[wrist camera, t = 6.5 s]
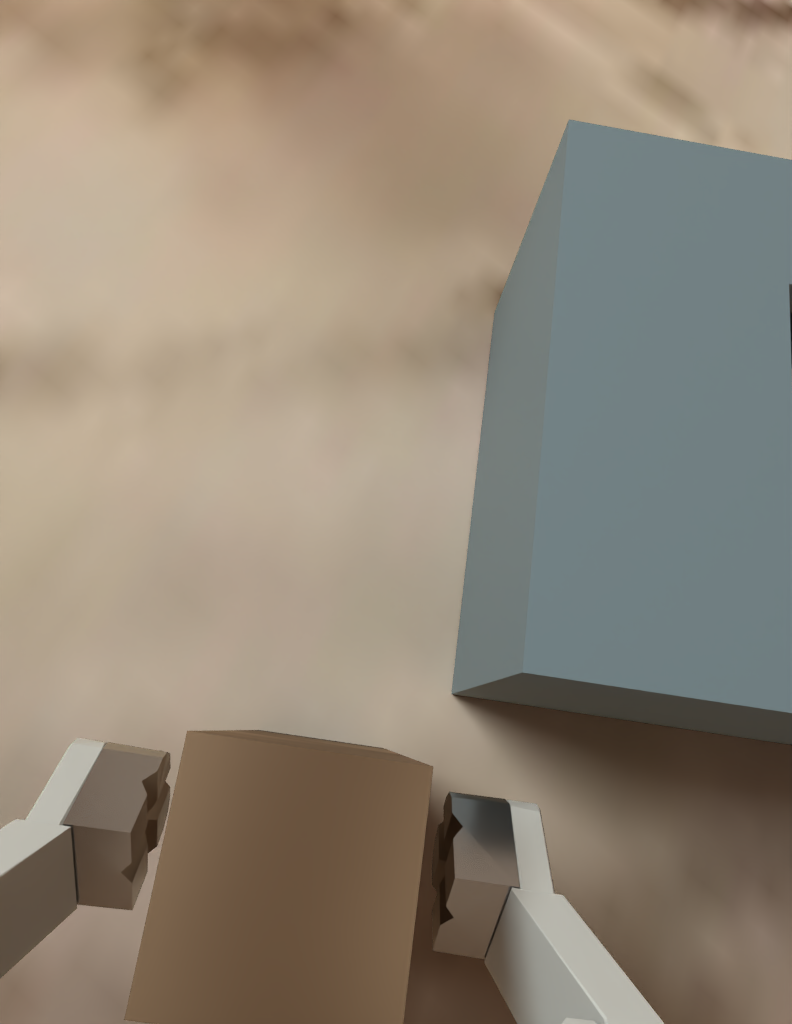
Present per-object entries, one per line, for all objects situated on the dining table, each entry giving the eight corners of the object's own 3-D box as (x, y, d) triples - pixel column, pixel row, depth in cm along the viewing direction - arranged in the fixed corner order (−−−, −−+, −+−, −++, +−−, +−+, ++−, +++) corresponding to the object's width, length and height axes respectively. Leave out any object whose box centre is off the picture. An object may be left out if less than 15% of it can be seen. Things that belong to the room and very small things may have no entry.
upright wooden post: (233, 866, 16) (124, 1019, 8) (259, 730, 17) (187, 730, 9) (364, 884, 16) (399, 1055, 8) (383, 748, 17) (432, 766, 9)
